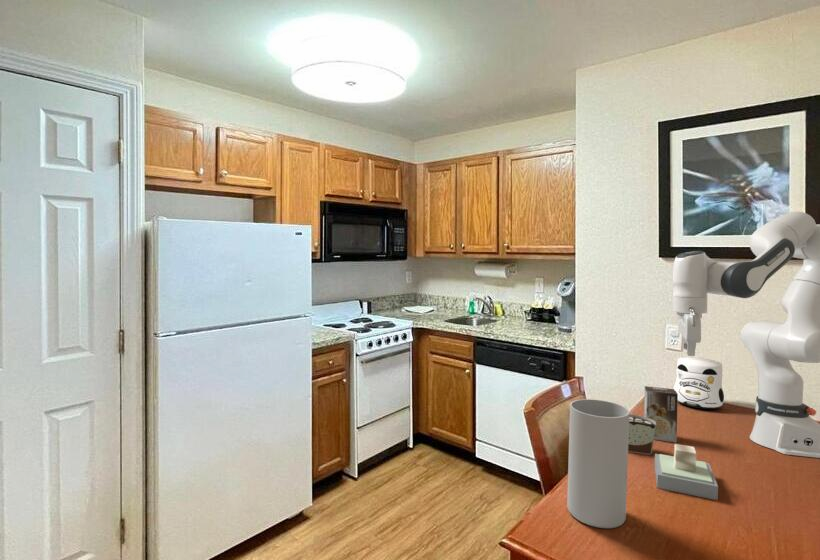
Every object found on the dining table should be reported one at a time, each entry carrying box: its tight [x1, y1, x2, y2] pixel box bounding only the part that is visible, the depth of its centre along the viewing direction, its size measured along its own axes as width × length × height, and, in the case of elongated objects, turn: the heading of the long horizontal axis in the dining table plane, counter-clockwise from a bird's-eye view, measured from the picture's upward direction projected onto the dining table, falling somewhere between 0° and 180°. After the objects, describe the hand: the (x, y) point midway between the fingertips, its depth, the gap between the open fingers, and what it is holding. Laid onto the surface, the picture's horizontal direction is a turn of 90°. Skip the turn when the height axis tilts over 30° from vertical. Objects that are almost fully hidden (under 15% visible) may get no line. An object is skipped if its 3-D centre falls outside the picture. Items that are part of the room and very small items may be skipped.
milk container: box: [673, 356, 725, 410], centre depth 181 cm, size 17×17×18 cm
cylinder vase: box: [566, 398, 630, 529], centre depth 103 cm, size 12×12×25 cm
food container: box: [628, 413, 658, 456], centre depth 139 cm, size 12×6×10 cm, turn 71°
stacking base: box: [654, 453, 719, 501], centre depth 119 cm, size 13×14×4 cm
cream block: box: [673, 443, 697, 472], centre depth 118 cm, size 4×4×5 cm
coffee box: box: [643, 385, 679, 443], centre depth 148 cm, size 9×6×16 cm
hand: (688, 352), depth 133 cm, fingers open, 8 cm apart
